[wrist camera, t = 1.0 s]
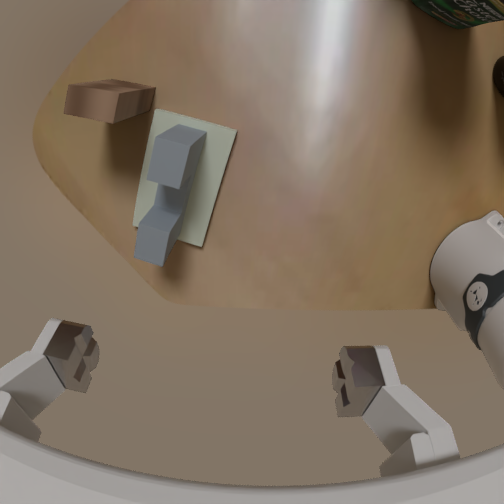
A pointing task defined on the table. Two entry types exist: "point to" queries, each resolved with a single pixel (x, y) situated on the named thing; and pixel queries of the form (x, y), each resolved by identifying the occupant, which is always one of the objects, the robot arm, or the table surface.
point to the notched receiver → (178, 183)
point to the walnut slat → (108, 100)
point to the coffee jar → (463, 11)
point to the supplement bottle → (499, 75)
